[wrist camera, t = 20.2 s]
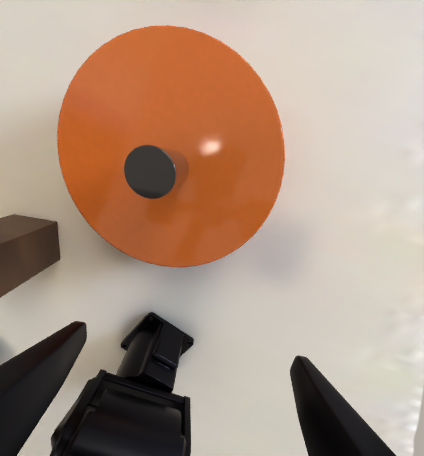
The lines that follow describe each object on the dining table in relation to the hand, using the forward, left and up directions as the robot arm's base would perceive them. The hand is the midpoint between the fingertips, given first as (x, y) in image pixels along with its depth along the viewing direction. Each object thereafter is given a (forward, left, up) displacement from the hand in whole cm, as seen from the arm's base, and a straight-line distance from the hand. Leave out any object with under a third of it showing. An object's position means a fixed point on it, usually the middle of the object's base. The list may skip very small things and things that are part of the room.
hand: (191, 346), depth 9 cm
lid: (+4, +6, -8) cm, 11 cm away
